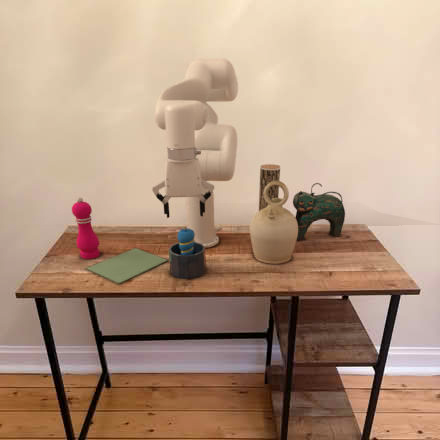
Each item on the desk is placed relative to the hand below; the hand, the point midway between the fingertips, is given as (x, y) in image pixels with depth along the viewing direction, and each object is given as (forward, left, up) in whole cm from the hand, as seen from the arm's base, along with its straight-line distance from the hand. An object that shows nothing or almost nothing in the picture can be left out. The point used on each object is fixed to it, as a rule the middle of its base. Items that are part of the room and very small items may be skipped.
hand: (184, 215), depth 117 cm
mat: (+9, -18, -18) cm, 27 cm away
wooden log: (-40, +3, -18) cm, 44 cm away
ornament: (0, 0, -18) cm, 18 cm away
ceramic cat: (-50, +18, -18) cm, 56 cm away
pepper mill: (+12, -34, -18) cm, 40 cm away
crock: (0, 0, -18) cm, 18 cm away
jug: (-25, +15, -18) cm, 34 cm away
